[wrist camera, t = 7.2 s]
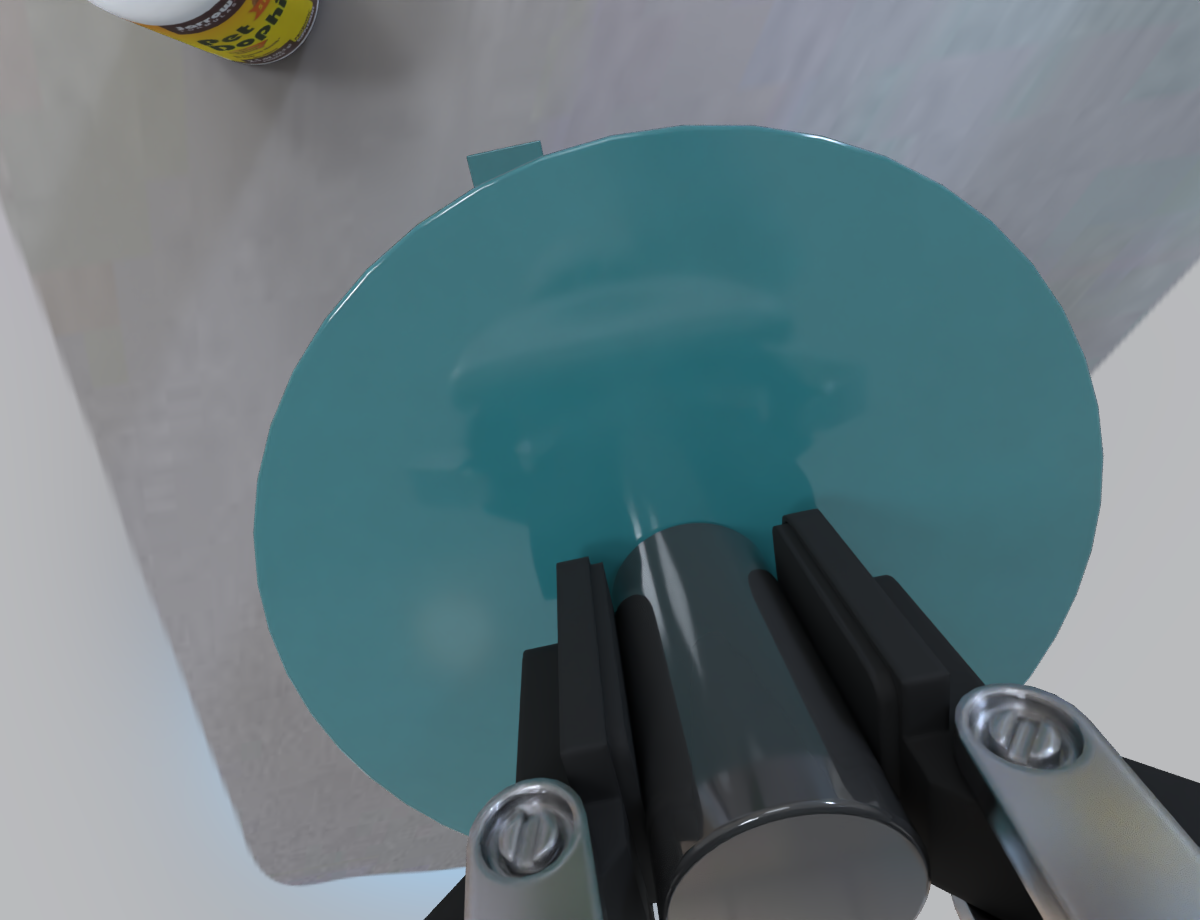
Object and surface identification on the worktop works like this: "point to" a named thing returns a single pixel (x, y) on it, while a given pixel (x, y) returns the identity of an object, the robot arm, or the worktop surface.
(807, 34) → the worktop surface
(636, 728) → the lid
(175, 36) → the supplement bottle
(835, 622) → the robot arm
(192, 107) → the worktop surface
